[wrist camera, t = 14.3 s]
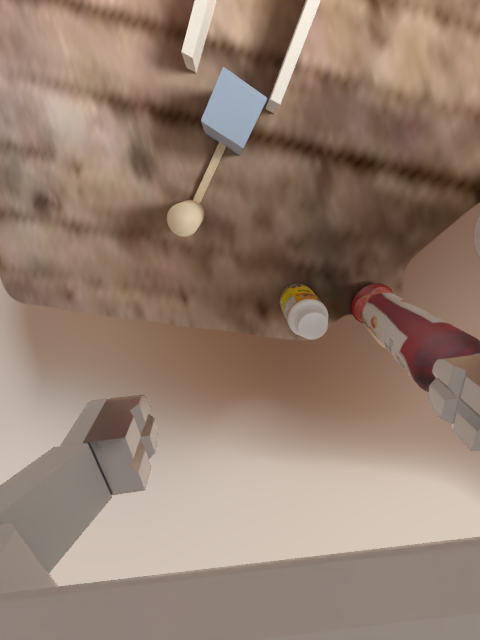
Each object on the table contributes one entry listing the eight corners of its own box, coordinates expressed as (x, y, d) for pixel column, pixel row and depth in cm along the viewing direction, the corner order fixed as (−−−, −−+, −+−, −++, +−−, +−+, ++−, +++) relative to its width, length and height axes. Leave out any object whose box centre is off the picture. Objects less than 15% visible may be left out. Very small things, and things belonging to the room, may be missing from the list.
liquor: (339, 297, 47) (472, 426, 22) (380, 270, 46) (575, 376, 20) (358, 329, 50) (498, 478, 25) (398, 305, 48) (590, 437, 23)
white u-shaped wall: (229, -92, 29) (230, -137, 25) (327, -28, 32) (343, -59, 27) (186, 67, 34) (181, 51, 30) (274, 113, 37) (280, 104, 33)
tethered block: (223, 91, 35) (223, 62, 27) (259, 115, 37) (269, 95, 28) (169, 216, 41) (156, 223, 33) (202, 233, 42) (196, 245, 34)
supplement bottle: (320, 293, 47) (343, 319, 38) (299, 320, 49) (317, 352, 39) (291, 275, 45) (309, 298, 36) (271, 304, 47) (283, 333, 38)
